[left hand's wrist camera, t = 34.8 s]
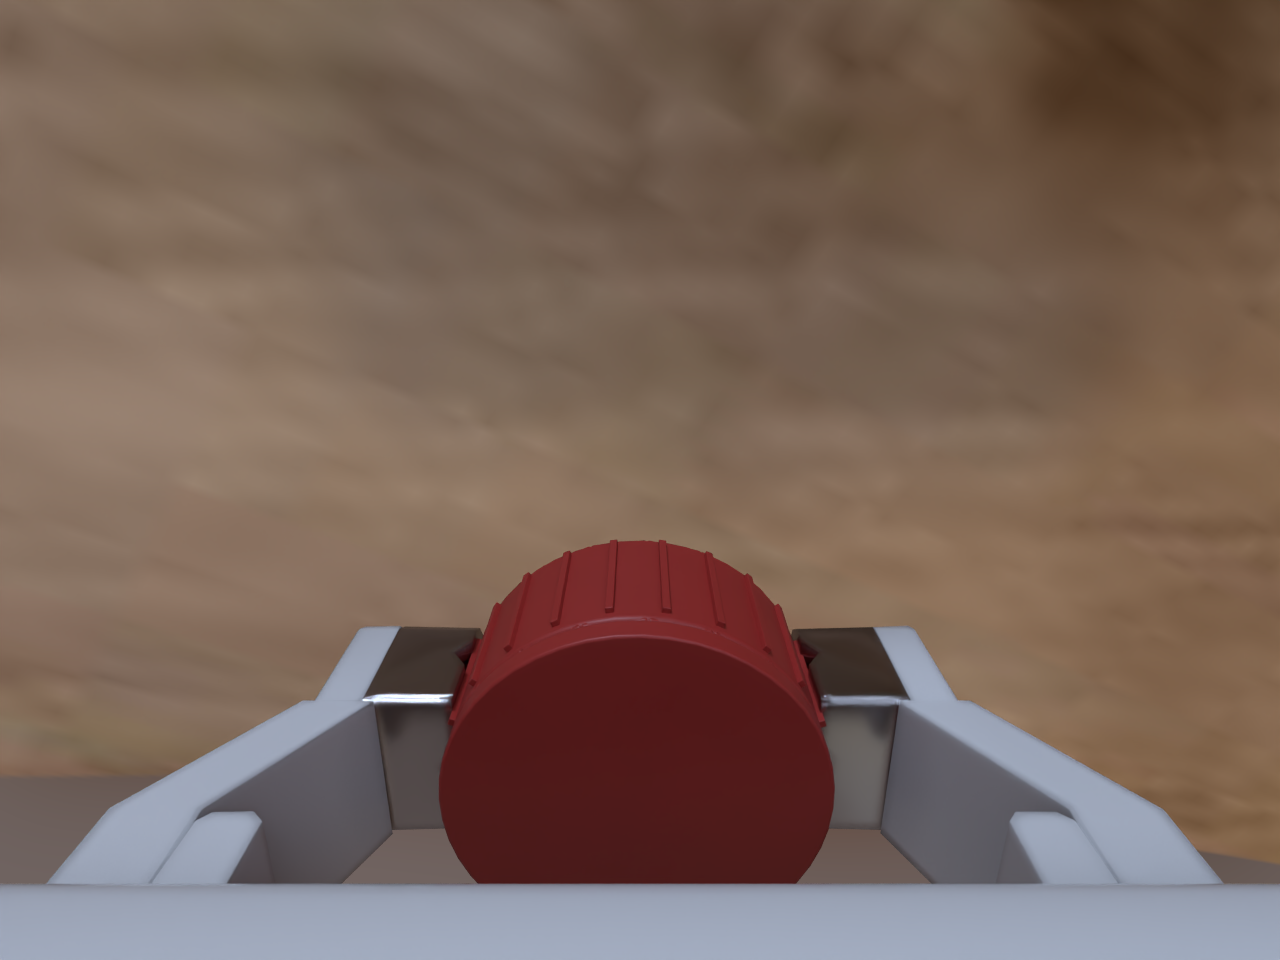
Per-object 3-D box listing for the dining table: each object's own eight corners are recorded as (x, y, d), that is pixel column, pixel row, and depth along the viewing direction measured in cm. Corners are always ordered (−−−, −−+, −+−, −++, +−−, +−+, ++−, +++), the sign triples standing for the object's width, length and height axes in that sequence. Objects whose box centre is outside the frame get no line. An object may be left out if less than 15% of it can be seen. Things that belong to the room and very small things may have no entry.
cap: (685, 854, 11) (695, 1000, 9) (416, 727, 10) (364, 857, 8) (868, 636, 10) (925, 752, 8) (576, 471, 9) (560, 555, 7)
